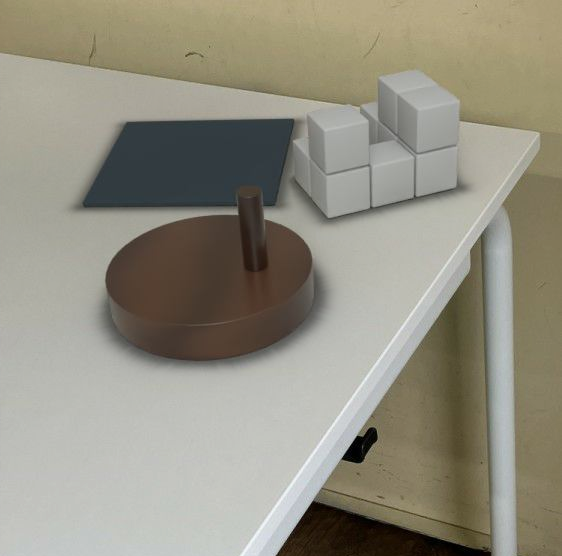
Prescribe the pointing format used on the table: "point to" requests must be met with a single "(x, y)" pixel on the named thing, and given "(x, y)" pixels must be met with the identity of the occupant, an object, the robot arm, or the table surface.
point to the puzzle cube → (381, 147)
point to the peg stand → (212, 284)
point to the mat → (192, 163)
